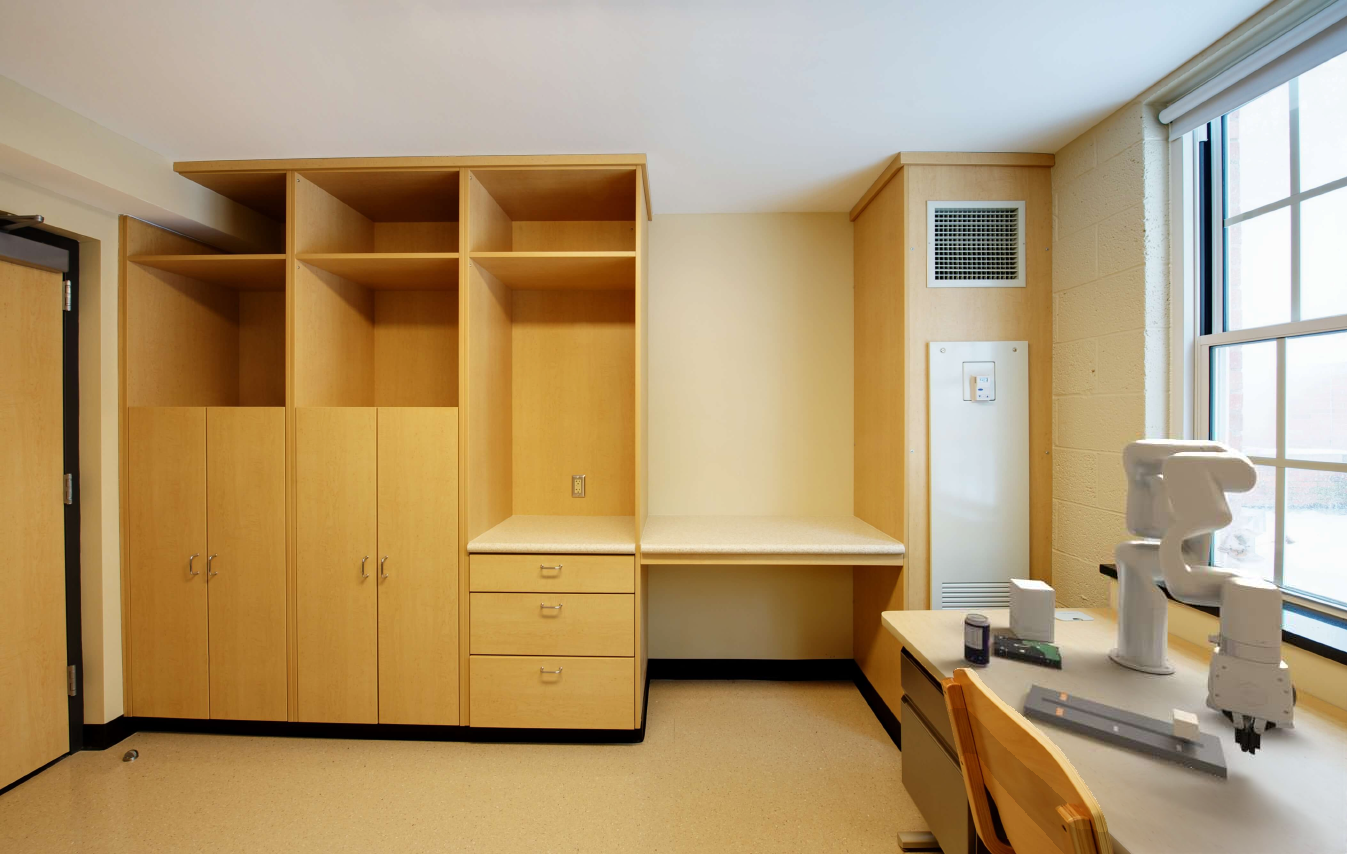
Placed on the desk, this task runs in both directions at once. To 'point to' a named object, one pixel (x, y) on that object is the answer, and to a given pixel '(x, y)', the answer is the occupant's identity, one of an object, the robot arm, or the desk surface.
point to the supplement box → (1032, 610)
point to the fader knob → (1185, 725)
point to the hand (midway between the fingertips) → (1247, 749)
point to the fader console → (1126, 729)
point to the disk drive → (1027, 651)
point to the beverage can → (976, 640)
